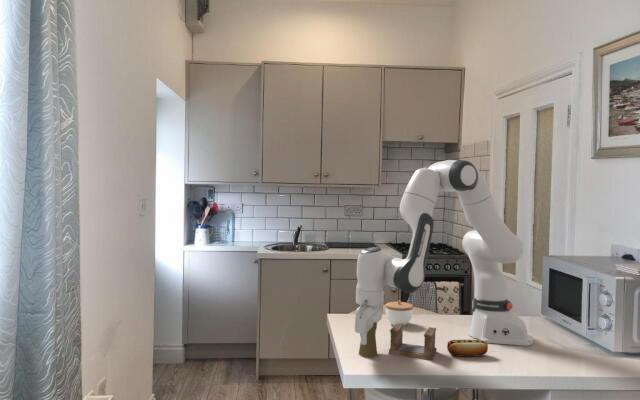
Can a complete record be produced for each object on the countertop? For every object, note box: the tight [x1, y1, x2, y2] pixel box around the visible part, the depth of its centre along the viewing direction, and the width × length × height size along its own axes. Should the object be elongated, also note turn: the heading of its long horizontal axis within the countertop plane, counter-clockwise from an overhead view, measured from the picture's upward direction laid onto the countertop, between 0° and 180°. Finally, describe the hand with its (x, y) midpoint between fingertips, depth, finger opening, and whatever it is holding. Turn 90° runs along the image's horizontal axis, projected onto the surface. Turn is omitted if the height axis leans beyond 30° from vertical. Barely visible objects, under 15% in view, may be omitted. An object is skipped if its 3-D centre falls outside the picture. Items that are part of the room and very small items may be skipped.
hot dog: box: [446, 339, 489, 357], centre depth 167 cm, size 5×13×5 cm, turn 93°
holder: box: [388, 323, 437, 361], centre depth 169 cm, size 14×9×8 cm
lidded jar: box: [385, 299, 414, 327], centre depth 203 cm, size 11×11×9 cm
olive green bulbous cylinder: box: [358, 322, 378, 358], centre depth 166 cm, size 6×6×11 cm
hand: (368, 340), depth 166 cm, fingers open, 8 cm apart
